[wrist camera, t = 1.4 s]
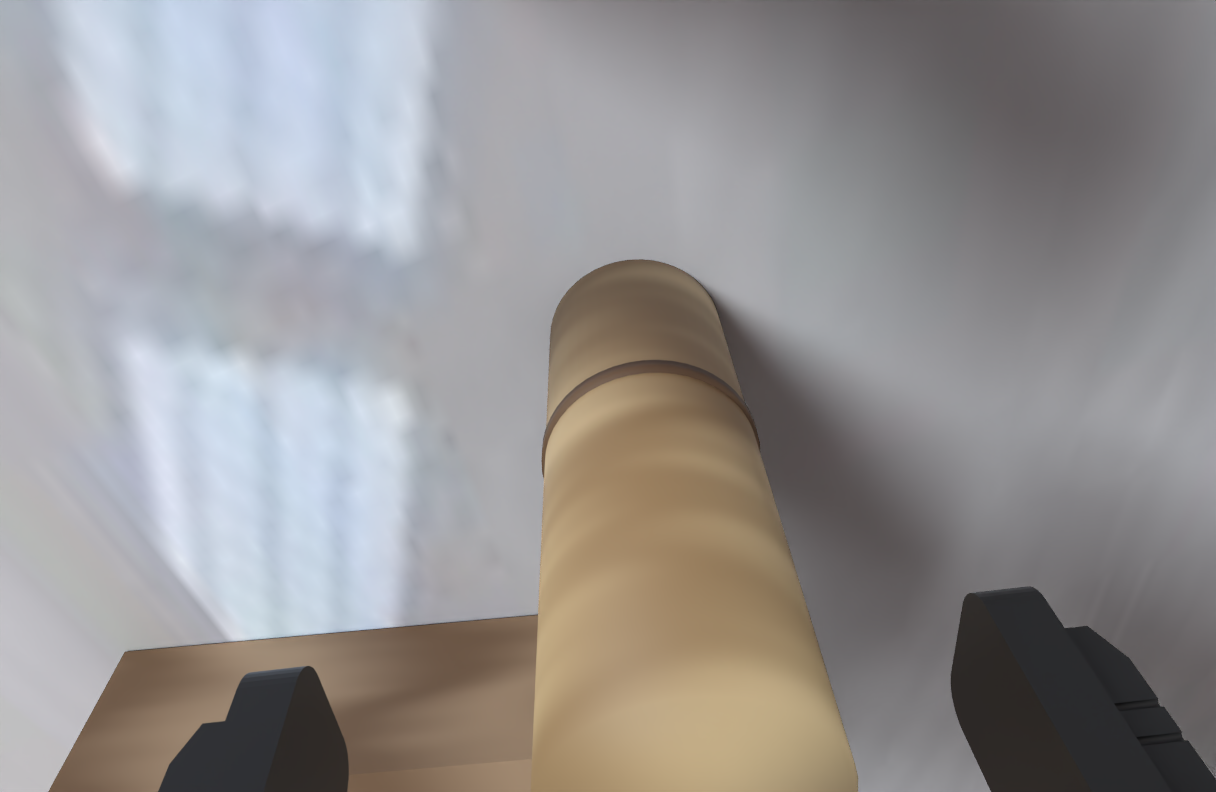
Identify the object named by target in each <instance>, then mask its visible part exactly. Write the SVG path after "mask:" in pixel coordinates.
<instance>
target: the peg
mask: <svg viewBox="0 0 1216 792" xmlns="http://www.w3.org/2000/svg"><path fill="white" fill-rule="evenodd" d="M542 473H543V477H544V493H543V516H542V539H541V562H540V585H539V608H538V631H537V654H536V678H535V701H534V724H533V747H532V770H531V792H858V775H857V771H856V767H855V763H854V760H853V756H852V753H851V750H850V746H849V743H848V740H847V737H846V733H845V730H844V727H843V723H842V720H841V717H840V714H839V710H838V707H837V704H836V700H835V697H834V694H833V691H832V687H831V684H830V681H829V678H828V674H827V671H826V668H825V664H824V661H823V658H822V655H821V651H820V648H819V645H818V641H817V638H816V635H815V632H814V628H813V625H812V622H811V618H810V615H809V612H808V609H807V605H806V602H805V599H804V595H803V592H802V589H801V586H800V582H799V579H798V576H797V572H796V569H795V566H794V563H793V559H792V556H791V553H790V549H789V546H788V543H787V540H786V536H785V533H784V530H783V526H782V523H781V520H780V517H779V513H778V510H777V507H776V503H775V500H774V497H773V494H772V490H771V487H770V484H769V480H768V477H767V474H766V471H765V467H764V464H763V461H762V457H761V454H760V442H759V438H758V434H757V430H756V427H755V424H754V420H753V418H752V416H751V413H750V411H749V409H748V407H747V406H746V404H745V402H744V398H743V395H742V392H741V388H740V385H739V382H738V379H737V375H736V372H735V369H734V366H733V362H732V359H731V356H730V352H729V349H728V346H727V343H726V339H725V336H724V333H723V329H722V326H721V323H720V320H719V316H718V313H717V310H716V308H715V305H714V303H713V301H712V299H711V298H710V296H709V294H708V293H707V291H706V290H705V289H704V288H703V287H702V285H701V284H699V283H698V282H697V281H696V280H695V279H694V278H693V277H691V276H690V275H688V274H687V273H685V272H684V271H682V270H680V269H678V268H676V267H674V266H671V265H668V264H665V263H661V262H657V261H652V260H626V261H619V262H615V263H611V264H608V265H605V266H603V267H600V268H598V269H595V270H594V271H592V272H590V273H589V274H587V275H585V276H584V277H583V278H581V279H580V280H579V281H577V282H576V283H575V284H574V285H573V286H572V287H571V288H570V289H569V290H568V292H567V293H566V294H565V295H564V297H563V298H562V300H561V301H560V303H559V305H558V307H557V309H556V311H555V314H554V317H553V321H552V325H551V334H550V354H549V377H548V400H547V423H546V430H545V434H544V438H543V448H542Z"/></svg>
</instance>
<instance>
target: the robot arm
mask: <svg viewBox="0 0 1216 792" xmlns="http://www.w3.org/2000/svg"><path fill="white" fill-rule="evenodd" d="M951 691H952V698H953V703H954V707H955V711H956V714H957V718H958V720H959V723H960V726H961V728H962V730H963V732H964V735H965V737H966V739H967V741H968V743H969V745H970V747H971V750H972V752H973V754H974V756H975V758H976V760H977V762H978V765H979V767H980V769H981V771H982V773H983V775H984V777H985V779H986V782H987V784H988V786H989V788H990V790H991V792H1216V779H1215V778H1214V776H1213V775H1212V774H1211V772H1210V771H1209V769H1208V768H1207V767H1206V765H1205V764H1204V762H1203V761H1202V760H1201V758H1200V757H1199V755H1198V754H1197V753H1196V751H1195V750H1194V748H1193V747H1192V746H1191V744H1190V743H1189V741H1185V740H1184V739H1183V738H1182V734H1181V733H1182V732H1181V730H1180V729H1179V727H1178V726H1177V725H1176V723H1175V722H1174V720H1173V719H1172V718H1171V716H1170V715H1169V713H1168V712H1167V711H1166V709H1165V708H1164V707H1160V705H1159V704H1158V698H1157V697H1156V695H1155V694H1154V692H1153V691H1152V690H1151V688H1150V687H1149V685H1148V684H1147V683H1146V681H1145V680H1144V678H1143V677H1142V676H1141V674H1140V673H1139V671H1138V670H1137V669H1136V667H1135V666H1134V664H1133V663H1132V661H1131V660H1130V659H1129V658H1128V657H1127V656H1126V655H1124V654H1123V653H1122V652H1120V651H1119V650H1118V649H1116V648H1115V647H1114V646H1113V645H1111V644H1110V643H1109V642H1107V641H1106V640H1105V639H1104V638H1102V637H1101V636H1100V635H1098V634H1097V633H1096V632H1094V631H1093V630H1092V629H1091V628H1089V627H1088V626H1083V627H1074V628H1064V627H1063V625H1062V624H1061V622H1060V621H1059V619H1058V618H1057V616H1056V615H1055V613H1054V612H1053V610H1052V609H1051V607H1050V606H1049V604H1048V603H1047V601H1046V599H1045V598H1044V597H1043V595H1042V594H1041V593H1040V592H1039V591H1038V590H1036V589H1035V588H1033V587H1020V588H1011V589H1002V590H994V591H985V592H976V593H969V594H967V596H966V597H965V599H964V602H963V606H962V612H961V618H960V624H959V630H958V636H957V642H956V648H955V654H954V660H953V665H952V671H951ZM348 780H349V761H348V753H347V747H346V743H345V740H344V737H343V735H342V732H341V730H340V728H339V725H338V723H337V720H336V718H335V715H334V713H333V711H332V708H331V706H330V703H329V701H328V698H327V696H326V694H325V691H324V689H323V686H322V684H321V681H320V679H319V677H318V674H317V672H316V671H315V669H314V668H313V667H311V666H302V667H293V668H284V669H275V670H267V671H258V672H250V673H247V674H246V675H245V676H244V677H243V678H242V679H241V681H240V683H239V685H238V687H237V690H236V692H235V695H234V698H233V701H232V703H231V706H230V709H229V711H228V714H227V717H226V720H225V721H220V722H211V723H203V724H202V725H201V726H200V727H199V728H198V730H197V731H196V732H195V733H194V734H193V736H192V737H191V738H190V739H189V741H188V742H187V743H186V744H185V746H184V747H183V748H182V749H181V750H180V752H179V753H178V754H177V755H176V757H175V758H174V759H173V760H172V761H171V763H170V764H169V766H168V769H167V771H166V773H165V776H164V778H163V781H162V783H161V786H160V788H159V790H158V792H347V790H348Z"/></svg>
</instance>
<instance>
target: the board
mask: <svg viewBox="0 0 1216 792" xmlns="http://www.w3.org/2000/svg"><path fill="white" fill-rule="evenodd" d="M537 631H538V615H533V616H522V617H511V618H499V619H488V620H477V621H466V622H455V623H443V624H432V625H421V626H410V627H398V628H387V629H376V630H365V631H353V632H342V633H331V634H320V635H308V636H297V637H286V638H275V639H263V640H252V641H241V642H230V643H219V644H207V645H196V646H185V647H174V648H162V649H151V650H140V651H129V652H125V653H124V654H123V656H122V658H121V660H120V662H119V664H118V665H117V667H116V669H115V671H114V673H113V675H112V676H111V678H110V680H109V682H108V684H107V685H106V687H105V689H104V691H103V693H102V695H101V696H100V698H99V700H98V702H97V704H96V706H95V707H94V709H93V711H92V713H91V715H90V717H89V718H88V720H87V722H86V724H85V726H84V728H83V729H82V731H81V733H80V735H79V737H78V738H77V740H76V742H75V744H74V746H73V748H72V749H71V751H70V753H69V755H68V757H67V759H66V760H65V762H64V764H63V766H62V768H61V770H60V771H59V773H58V775H57V777H56V779H55V781H54V782H53V784H52V786H51V788H50V790H49V791H48V792H158V790H159V788H160V786H161V783H162V781H163V778H164V776H165V773H166V771H167V769H168V766H169V764H170V763H171V761H172V760H173V759H174V758H175V757H176V755H177V754H178V753H179V752H180V750H181V749H182V748H183V747H184V746H185V744H186V743H187V742H188V741H189V739H190V738H191V737H192V736H193V734H194V733H195V732H196V731H197V730H198V728H199V727H200V726H201V725H202V724H203V723H211V722H220V721H225V720H226V717H227V714H228V711H229V709H230V706H231V703H232V701H233V698H234V695H235V692H236V690H237V687H238V685H239V683H240V681H241V679H242V678H243V677H244V676H245V675H246V674H247V673H250V672H258V671H267V670H275V669H284V668H293V667H302V666H311V667H313V668H314V669H315V671H316V672H317V674H318V677H319V679H320V681H321V684H322V686H323V689H324V691H325V694H326V696H327V698H328V701H329V703H330V706H331V708H332V711H333V713H334V715H335V718H336V720H337V723H338V725H339V728H340V730H341V732H342V735H343V737H344V740H345V743H346V747H347V753H348V761H349V780H348V790H347V792H531V770H532V747H533V724H534V701H535V678H536V654H537Z"/></svg>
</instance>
